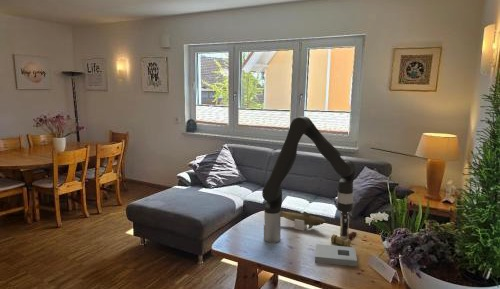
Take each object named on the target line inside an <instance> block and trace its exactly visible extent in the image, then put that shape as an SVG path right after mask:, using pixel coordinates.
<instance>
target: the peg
mask: <svg viewBox="0 0 500 289" xmlns="http://www.w3.org/2000/svg"><path fill="white" fill-rule="evenodd" d="M342 221H343V218H342ZM349 224H350V222H349V223H348V229H347V236H343V235H342V223H341V222H340V230H339V235H340V236H339V237H340V238H341V241H343V242H347V241H348V237H349V234H350V231H349V230H350V225H349ZM344 226H346V225H344Z"/></svg>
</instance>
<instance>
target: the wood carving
mask: <svg viewBox="0 0 500 289" xmlns="http://www.w3.org/2000/svg"><path fill="white" fill-rule="evenodd" d="M280 218H284V219H286V220H289V221H292V222H294V229H295V230H298V231H300V230H301V231H305V230H306V228H307V229H308V230H310V229H312V228H313V227H316V226H321V225H324V224H325V222H326V219H324V218H322V217H318V216H314V215H310V214H309V213H308V212H307V211H303V214H302V213H297V212H293V211H292V210H289V211H284V210H281V209H280Z"/></svg>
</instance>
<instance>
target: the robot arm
mask: <svg viewBox="0 0 500 289" xmlns="http://www.w3.org/2000/svg"><path fill="white" fill-rule="evenodd" d="M303 135H305V136H306V137H307V138H308V139H310V140H311V141H312V143H313V144H314V145H315V147H316V148H317V150H318V152H319V153H320V154H321V155H322V157H324V158H325V159H326V160H327V161H328V162H329V163H330V165H331V167H332V169H334V170H333V171H335V172H336V173H337V175H339V176H340V179H339V181H338V183H337V197H336V198H337V199H336V200H337V201H336V203H337V204H336V209H337V211H339V212H340V224H341V223H342V235H343V236H347V229H348V223H349V224H350V213H351V212H353V210H354V180H355V176H356V175H355V174H356V166H355V164H354V162H353V161H352V160H344V159H343V157H341V156H342V154H341V152H340V151H339V150H338V149H337V148H336V147H335V146H334V145H333V144H331V143H330V141H329V140H328V139H327V138H326V137H325V136H324V135H323V134H322V133H321V131H320V130H319V129H318V128H317V126H316V125H315V124H314V123H313V121H312V120H311V119H310V117H308V116H296V117H295V118H294V119H292V121H291V123H290V125H289V128H288V132H287V135H286V138H285V141H284V142H283V145H282V147H281V149H280V151H279V154H278V156H277V158H276V160H275V163H274V165H273V168H272V171H271V173H270V175H269V178H268V180H267V182H266V183H265V185H264V186H263V188H262V192H261V194H262V199H263V200H264V201H266V202H265V205H264V207H263V208H264V210H263V211H264V216H263V217H264V222H263V223H264V224H263V242H267V243H271V244H272V243H279V242H280V241H281V237H282V236H281V217H280V210H281V209H282V204H283V203H282V202H283V190H282V187H281V185H282V183H283V181H284V179H285V178H286V177H287V176H288V174H289V173H290V172H291V170H292V168H293V165H294V163H295V161H296V159H297V155H298V154H297V152H298V146H299V143H300V141H301V139H302V136H303ZM342 218H343V221H342ZM344 225H346V226H344Z"/></svg>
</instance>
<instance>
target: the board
mask: <svg viewBox="0 0 500 289" xmlns="http://www.w3.org/2000/svg"><path fill="white" fill-rule="evenodd" d="M355 247H356V246H355ZM355 247H353V246H350V247H344V246H343V245H333V244H332V245H329V244H322V243H321V244H320V243H315V255H314V263H319V264H321V263H322V264H328V265H330V264H331V265H338V266H347V265H348V266H349V267H358V258H357V254H356V248H355Z"/></svg>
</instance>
